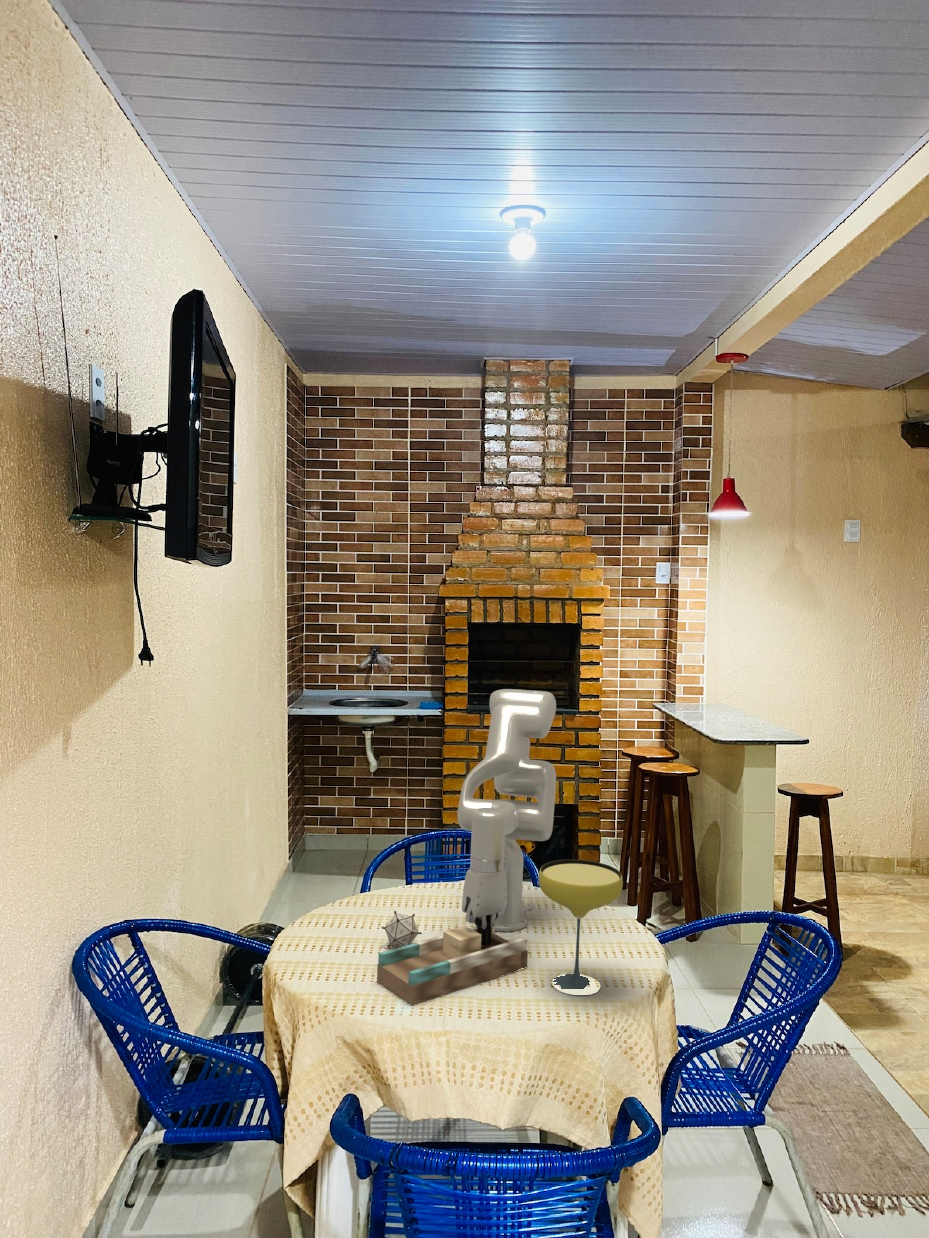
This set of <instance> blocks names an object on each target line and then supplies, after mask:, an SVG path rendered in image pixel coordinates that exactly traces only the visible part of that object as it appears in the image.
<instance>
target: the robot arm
mask: <svg viewBox="0 0 929 1238" xmlns="http://www.w3.org/2000/svg"><path fill="white" fill-rule="evenodd" d="M556 710H557V701H556V698H555V696H554V694H552V692H549V691H544V690H527V689H519V688H518V689H514V688H513V689H512V688H502V689H498V690H495V691H493V692H492V693H491V694H490V697H489V711H490V712H489V713H490V716H491V717H490V723H489V730H488V735H487V742H486V748H485V749H486V750H485V757H484V758H483V759H482V760H481V761H480V762H479V763H477V765H475V767H473V768H472V770H470V771H469V773H468V774H467V776H466V777H465V778H464V781H463V783H462V786H461V791H460V795H459V802H458V808H457V822H458V826H459V827H460V828H461V829H462V830H465V831H467V832H469V831H470V832H471V837H470V839H471V841H470V865H469V866H470V867H469V869H468V870H467V871H466V873H465V878H464V884H463V889H462V898H461V911H462V912H463V913H465V919H464V921H465V922H466V923H469V924H474V925H475V926H477V932H478V933H479V934H481V944H482V945H483V946H487V945H491V938H492V927H493V926H494V925H495V932H515V931H519V930H522V929H524V928H525V927H526V926H527V924H528V918H527V917H526V915H525V914H526V913H527V912H530V911H533V910H535V909H536V905H535V903H534V902H533V901H531V902H527V903H525V902H524V901H523V880H524V879H523V878H524V877H523V876H524V874H523V873H524V854H523V851H522V848H521V847H520V845H519V844H518V842H517V840H523V841H532V842H535V841H537V842H545V841H547V840H549V839H550V838H551V836H552V832H553V829H554V828H553V827H554V826H553V825H554V816H555V815H554V814H555V803H556V788H557V773H556V769H555V767H554V765H553V764H552V763H551V762H549V761H546V760H537V759H530V750H531V749H530V748H531V741H530V738H532V739H545V737H547V736H548V734H549V733H550V730H551V728H552V724H553V722H554V719H555V717H556V712H557V711H556ZM493 778H494V779H493ZM491 779H493V784H494V789H495V791H496V792H497V793H498V794H501V795H506V796H513V797H525V798H532V799H533V798H534V799H535V800H536V802H534V801H525V800H517V799H516V800H515V799H501V798H500V799H482V798H474V795H475V792H476V790H477V789H478V787H479V786H481V785H482V784H484V783H485V782H487V781H489V780H491Z"/></svg>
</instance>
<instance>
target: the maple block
mask: <svg viewBox="0 0 929 1238" xmlns="http://www.w3.org/2000/svg"><path fill="white" fill-rule="evenodd" d="M470 928H471V927H468V926H465V925H463V926H459V927H455V928H452V929H448V930H443V933H442V934H443V935H442V936H443V954H444V955H446V956H448V957H450V958H451V959H454V958H457V957H460V956H464V955H467V954H470V953H474V952H477V951H480V950H481V934H479V933H478V932H476V931H474V930H472V929H470Z"/></svg>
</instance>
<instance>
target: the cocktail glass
mask: <svg viewBox="0 0 929 1238" xmlns="http://www.w3.org/2000/svg"><path fill="white" fill-rule="evenodd" d="M538 885H539V888H540V890H541V891H542V893H543V894H544V895H546V896H547V898H549V899H550V900H551V901H553V902H555V903H556V904H558V905H561V906H562V907H565V908H566V909H568V910H569V911H570V912H571V914H572V916H573V917H574V918H576V919H577V920H576V922H577V923H576V941H575V942H576V946H575V959H574V960H575V961H574V962H575V963H574V970H573V973H574V974H566V975H565V976H560V977H556V978H554V977H553V978H554V979H556V980H554V981H553V982H557V983H556V984H554V985H560V986H561V989H584V988H585V987H586V986H587V985H590V984H589V982H590V981H589V980H588V978H586V977H583V976H580V974H581V973H580V963H579V962H580V937H581V936H580V935H581V932H580V931H581V919H583V918H584V917H585V916H586V915H587V914H589V913H590V911H592V910H596V909H598V908H602V907H605V906H608V905H610V904H611V903H612V902H614V901H616V900H617V899H618V898H619V897H620V896H621V894H622V891H623V885H624V881H623V875H622V873H621V871H620V870H619V869H617V868H615V867H613V866H611V865H608V864H605V863H602V862H598V861H593V860H588V859H587V860H585V859H584V860H583V859H560V860H559V859H558V860H553V861H549V862H547V863H544V864H543V865H542V866H541V867H540V869H539V871H538Z"/></svg>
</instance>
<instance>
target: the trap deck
mask: <svg viewBox="0 0 929 1238" xmlns="http://www.w3.org/2000/svg"><path fill="white" fill-rule="evenodd" d="M469 928H470V929H472V930H474V931H476V932H477V926H476V925H475V926H472V927H469ZM528 951H529V950H528V938H525V937H521V938H517V939H515V940H511V941H510V940H508V939H506V938H504V937H501V936H499V935H498V934H496V931H495V925H494V926H493V927H492V938H491V945H487V946H483V945H482V944H481V950H480V951H477V952H474V953H470V954H467V955H464V956H460V957H457V958H454V959H451V958H450V957H448V956H446V955H444V954H443V935H440V936H436V937H432V938H429V939H425V940H421V941H418V942H414V943H411V944H410V945H407V946H403V947H400V946H398V947H395V948H393V949H389V950H384V951H382V952H378V958H377V959H378V960H377V961H378V962H377V965H376V966H377V968H376V969H377V970H376V975H377V977H376V983H377V984H379V985H381V986H382V987H383V988H385V990H388V991H389V992H390V993H392V994H394V995H395V996H396V997H398V998H399V999H402V1000H403V1001H404V1002H406V1003H408V1004H409V1005H410V1006H415V1005H418V1004H421V1003H425V1002H427V1001H431V1000H433V999H436V998H439V997H443V996H446V995H449V994H452V993H454V992H458V991H461V990H464V989H467V988H470V987H473V986H476V985H479V984H482V983H481V982H483V983H485V981H486V982H488V980H489V981H491V980H490V979H492V980H495V979H498V978H500V976H501V977H503V976H502V975H504V976H506V974H507V975H509V974H508V973H510V974H512V973H511V972H513V973H515V972H514V971H516V972H518V971H517V970H519V969H521V968H525V967H527V968H528V958H529V957H528V955H529V952H528ZM525 969H526V968H525ZM519 971H520V970H519ZM494 978H495V979H494ZM478 983H479V984H478Z"/></svg>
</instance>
